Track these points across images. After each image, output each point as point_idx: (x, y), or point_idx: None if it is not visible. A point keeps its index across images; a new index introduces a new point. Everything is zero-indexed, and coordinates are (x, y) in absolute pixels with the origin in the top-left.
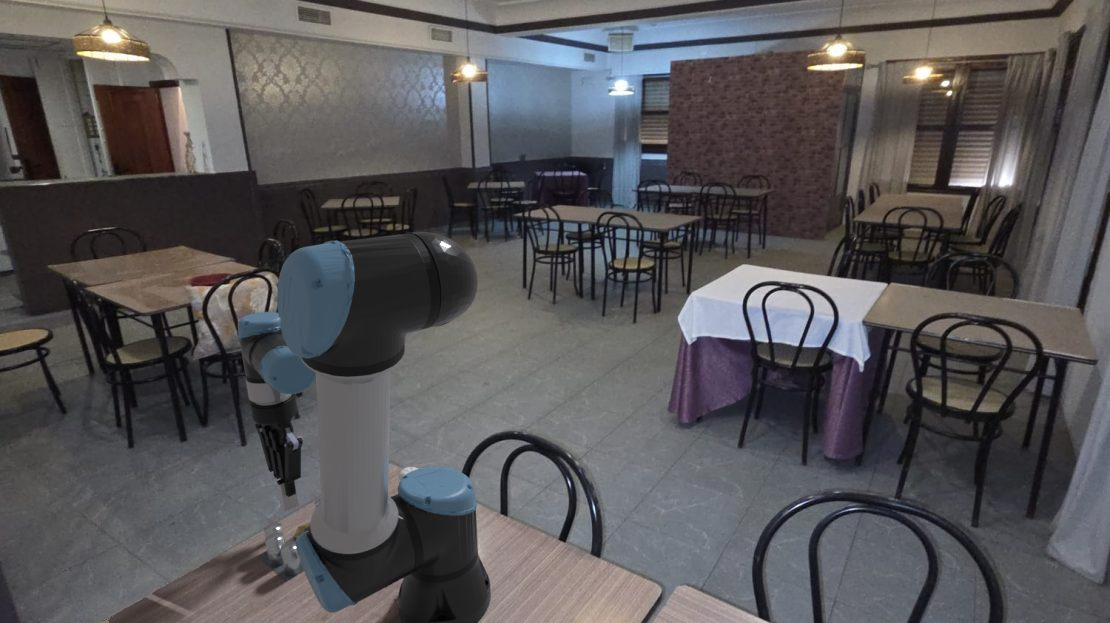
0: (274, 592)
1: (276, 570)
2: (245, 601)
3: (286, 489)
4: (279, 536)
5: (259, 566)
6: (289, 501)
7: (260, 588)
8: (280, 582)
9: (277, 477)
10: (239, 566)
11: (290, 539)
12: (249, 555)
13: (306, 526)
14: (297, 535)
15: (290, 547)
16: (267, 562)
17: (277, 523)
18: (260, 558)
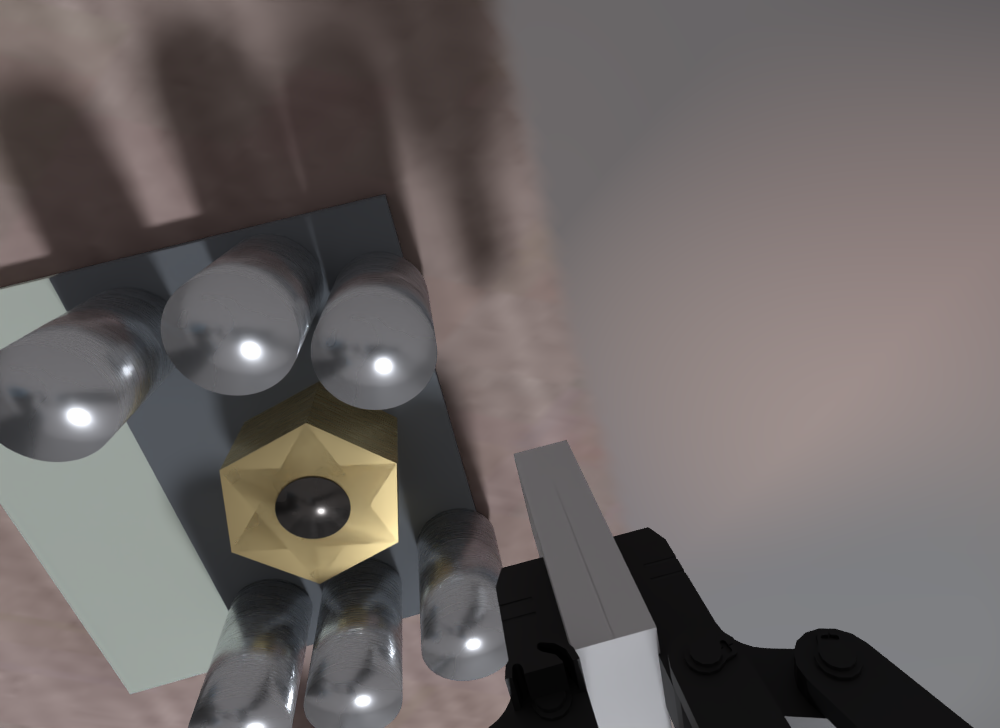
0: (17, 198)
1: (187, 255)
2: (9, 27)
3: (537, 613)
4: (229, 370)
5: (320, 183)
6: (533, 527)
7: (99, 138)
8: (98, 248)
9: (669, 655)
10: (392, 82)
11: (436, 377)
12: (461, 158)
13: (368, 499)
14: (305, 443)
15: (35, 406)
16: (298, 229)
17: (407, 389)
18: (362, 204)
